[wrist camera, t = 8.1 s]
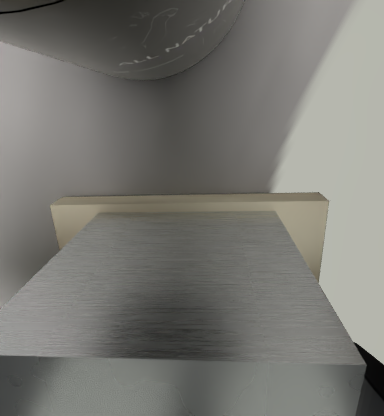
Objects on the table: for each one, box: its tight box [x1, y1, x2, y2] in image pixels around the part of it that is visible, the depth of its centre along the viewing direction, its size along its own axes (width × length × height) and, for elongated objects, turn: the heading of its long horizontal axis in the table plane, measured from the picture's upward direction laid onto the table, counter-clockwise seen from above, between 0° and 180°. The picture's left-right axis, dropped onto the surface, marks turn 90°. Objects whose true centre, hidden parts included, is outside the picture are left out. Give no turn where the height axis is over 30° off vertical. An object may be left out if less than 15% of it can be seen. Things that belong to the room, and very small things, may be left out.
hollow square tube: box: [0, 211, 367, 416], centre depth 9 cm, size 6×6×6 cm
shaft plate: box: [50, 192, 329, 283], centre depth 10 cm, size 7×10×5 cm
